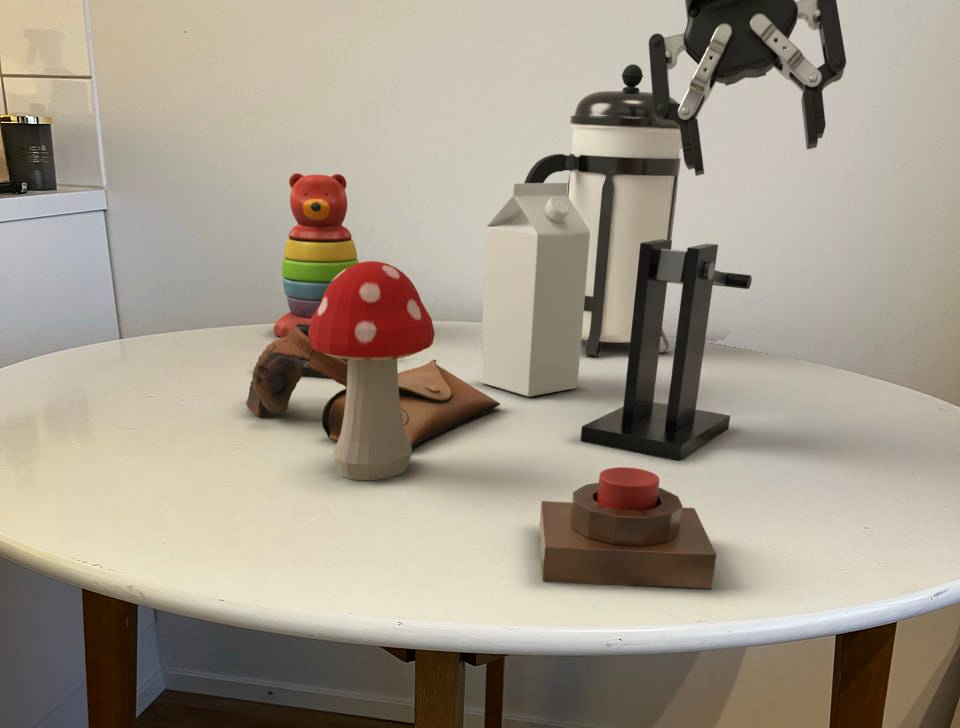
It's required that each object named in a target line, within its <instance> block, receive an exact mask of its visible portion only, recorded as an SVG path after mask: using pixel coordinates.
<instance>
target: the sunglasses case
mask: <svg viewBox="0 0 960 728" xmlns="http://www.w3.org/2000/svg"><path fill="white" fill-rule="evenodd" d="M398 387H399V399H400V406H401V413H402V419H403V424H404V429H405V432H406V435H407V437H408V440H409V442H410V445H411V448H412V449H413V448H414V447H415V446H417V445H418V444H420V443H421V442H423V441H425V440H428V439H430V438H433V437H435V436H438V435H439V434H442V433H444V432H446V431H449V430H451V429H454V428H456V427H458V426H461V425H464V424H466V423H469V422H471V421H473V420H474V419H477V418H479V417H481V416H483V415H485V414H486V413H488V412H489V411H492V410H493V409H495V408H497V407H499V406H501V403H500V402H498V401H496V400H495V399H493V398H492V397H490V396H489V395H487V394H486V393H483V392H482V391H480V390H478V389H477V388H475V387H473V386H472V385H471V384H469V383H467V382H466V381H464V380H463V379H461V378H460V377H458V376H456V375H455V374H452V373H451V372H450V371H448V370H447V369H445V368H443V367H442V366H440V365H439V364H437V359H432V360H430V361H429V362H427V363H426V364H423V365H421V366H418V367H413V368H411V369H407V370H404V371H401V372H398ZM346 391H347V389H346V388H344V389H342V390H339V391H338V392H336V393H335V394H334V395H333V396H331V397H330V399H329V400H327V402H326V404H325V406H324V408H323V410H322V415H321V424H322V428H323V431H324V432H325V434H326V436H327V437H328V439H330V440H331V441H333V442H338V440H339V437H340V434H341V429H342V424H343V418H344V411H345V403H346Z"/></svg>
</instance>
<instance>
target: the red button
mask: <svg viewBox="0 0 960 728" xmlns="http://www.w3.org/2000/svg"><path fill="white" fill-rule="evenodd" d="M598 483H599V486H598V497H597V502H598V503H600V504H601V505H603V506H606V507H610V508H614V509H619V510H633V511H642V510H648V509H654V508H655V507H656V505H657V497H658V489H659V488H660V477H659V476H658V475H657V474H656V473H654V472H652V471H649V470H646V469H642V468H637V467H627V466H626V467H625V466H624V467H620V466H619V467H611V468H607V469H604V470H602V471H600V472H599V477H598Z"/></svg>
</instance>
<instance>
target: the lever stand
mask: <svg viewBox="0 0 960 728" xmlns="http://www.w3.org/2000/svg"><path fill="white" fill-rule="evenodd" d="M672 245H673V240H672V239H671V240H665V239H660V240H654V241H649V242H643V243H640V252H639V262H638V272H637V281H636V291H635V301H634V310H633V320H632V329H631V339H630V342H629V348H628V349H629V350H628V359H627V368H626V369H627V370H626V379H625V389H624V396H623V397H624V398H623V406H621V407H619V408H617V409H616V410H613V411H611V412H609V413H607V414H604V415H603V416H600V417H598V418H597V419H594V420H591V421H590V422H588V423H586V424H584V425H581V430H580V431H581V433H580V442H583V443H584V442H585V443H588V444H593V445H599V446H604V447H609V448H614V449H618V450H623V451H627V452H633V453H638V454H644V455H649V456H654V457H657V458H663V459H668V460H672V461H673V460H674V461H681V460H683V459H684V458H686V457H688V456H689V455H690V454H692V453H694V452H695V451H697V450H698V449H700V448H702V447H703V446H704V445H706V444H708V443H709V442H711V441H713V440H714V439H716V438H717V437H719V436H721V435H722V434H723V433H725V432H726V431H728V430H729V427H730V421H731V415H729V414H724V413H718V412H713V411H707V410H702V409H697V404H698V403H697V402H698V396H699V395H698V394H699V388H700V380H701V374H702V373H701V372H702V366H703V361H704V360H703V359H704V353H705V352H704V350H705V344H706V337H707V331H708V323H709V315H710V307H711V300H712V293H713V286H714V285H713V279H714V272H715V270H716V263H717V257H718V251H719V244H716V243H703V244H699V245H694V246H689V247H687V248H686V251H687V255H686V263H685V271H684V279H683V284H682V286H681V287H682V289H681V296H680V303H679V313H678V321H677V329H676V336H675V337H676V338H675V344H674V352H673V360H672V362H673V363H672V369H671V376H670V385H669V392H668V393H669V394H668V401H667V404H666V403H662V402H655V401H654V399H655V391H656V390H655V389H656V382H657V381H656V380H657V373H658V364H659V356H660V353H659V349H661V341H662V337H661V331H662V329H663V322H664V313H665V304H666V296H667V287H668V282H663V281H659V280H656V276H657V270H658V264H659V258H660V253H661V249H670V250H672Z"/></svg>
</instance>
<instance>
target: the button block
mask: <svg viewBox="0 0 960 728" xmlns="http://www.w3.org/2000/svg"><path fill="white" fill-rule="evenodd" d="M598 486H599V482H594V483H587V484H585V485H583V486H581V487H579V488H578V489H575V490H574V491H573V492H572V500H571V502H568V501H548V500H542V501H541V502H540V515H539V529H538V535H539V546H540V547H539V548H540V549H539V550H540V561H541V578H542V581H543V582H553V583H554V582H555V583H575V584H577V583H578V584H595V585H596V584H598V585H599V584H600V585H617V586H619V585H621V586H638V587H639V586H640V587H641V586H642V587H660V588H661V587H664V588H666V587H667V588H685V589H704V590H705V589H709V590H711V589H712V588H713V581H714V576H715V575H714V574H715V568H716V561H717V553H716V551H715V549H714V546H713V544H712V542H711V540H710V538H709V536H708V534H707V532H706V530H705V528H704V525H703V523H702V521H701V519H700V516H699V515H698V513H697V511H696V509H695V507H683V504H682V502H681V500H680V497H679V496H678V495H677V494H674V493H672V492H671V491H668V490H666V489H664V488H662V487H659V489H658V497H657V505H656V507H655V508H654V509H648V510H642V511H633V510H619V509H614V508H610V507H606V506H603V505H601V504H600V503H598V502H597V497H598Z"/></svg>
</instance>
